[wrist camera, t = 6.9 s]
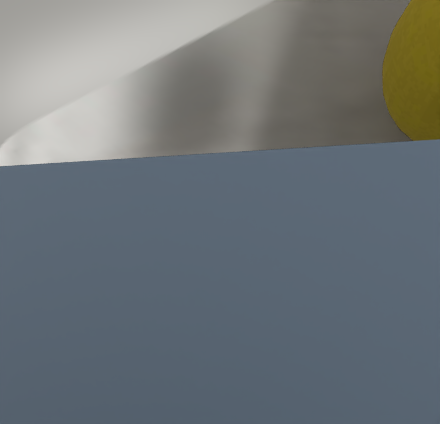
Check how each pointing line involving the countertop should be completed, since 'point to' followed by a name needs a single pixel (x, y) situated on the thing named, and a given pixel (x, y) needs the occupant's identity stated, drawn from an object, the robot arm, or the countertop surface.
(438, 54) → the lemon
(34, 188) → the light blue block
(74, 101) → the countertop surface
